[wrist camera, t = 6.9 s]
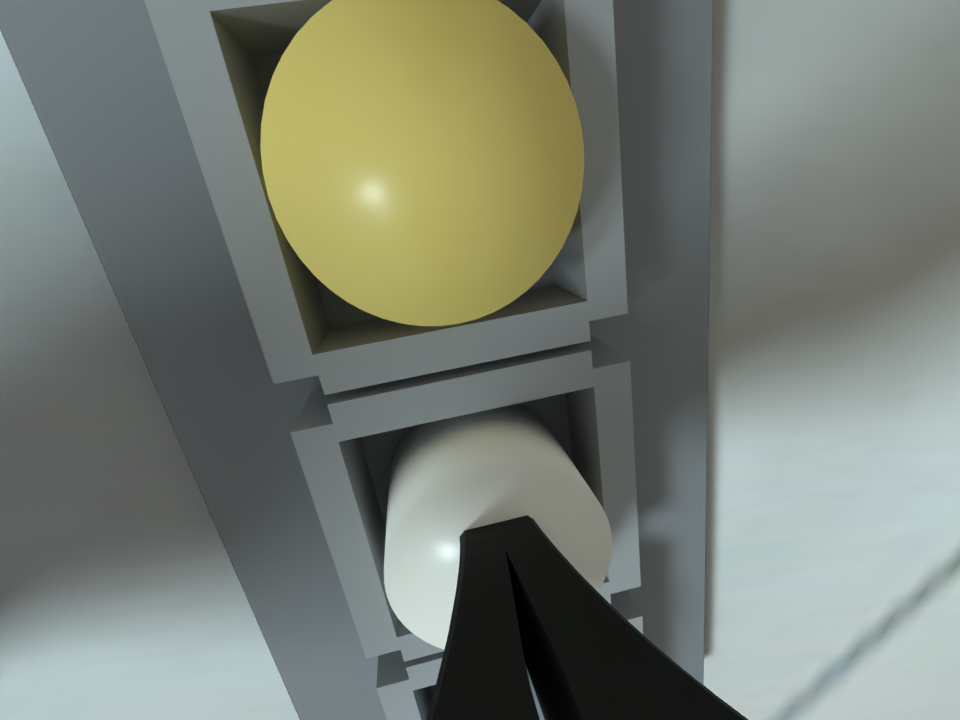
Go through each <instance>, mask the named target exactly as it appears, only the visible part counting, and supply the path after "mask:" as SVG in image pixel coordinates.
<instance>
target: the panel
mask: <svg viewBox="0 0 960 720" xmlns="http://www.w3.org/2000/svg"><path fill="white" fill-rule="evenodd" d="M330 1H332V0H0V30H1V32H2V35H3V37H4V39H5V42H6V44H7V46H8V49H9V51H10V53H11V56H12V58H13V60H14V62H15V65H16V67H17V69H18V72H19V74H20V76H21V79H22V81H23V83H24V85H25V88H26V90H27V92H28V95H29V97H30V99H31V102H32V104H33V106H34V108H35V111H36V113H37V115H38V118H39V120H40V122H41V125H42V127H43V129H44V132H45V134H46V136H47V138H48V141H49V143H50V145H51V148H52V150H53V152H54V155H55V157H56V159H57V161H58V164H59V166H60V168H61V171H62V173H63V175H64V178H65V180H66V182H67V185H68V187H69V189H70V191H71V194H72V196H73V198H74V201H75V203H76V205H77V208H78V210H79V212H80V214H81V217H82V219H83V221H84V224H85V226H86V228H87V231H88V233H89V235H90V238H91V240H92V242H93V244H94V247H95V249H96V251H97V254H98V256H99V258H100V261H101V263H102V265H103V267H104V270H105V272H106V274H107V277H108V279H109V281H110V284H111V286H112V288H113V291H114V293H115V295H116V297H117V300H118V302H119V304H120V307H121V309H122V311H123V314H124V316H125V318H126V320H127V323H128V325H129V327H130V330H131V332H132V334H133V337H134V339H135V341H136V344H137V346H138V348H139V350H140V353H141V355H142V357H143V360H144V362H145V364H146V367H147V369H148V371H149V373H150V376H151V378H152V380H153V383H154V385H155V387H156V390H157V392H158V394H159V396H160V399H161V401H162V403H163V406H164V408H165V410H166V413H167V415H168V417H169V420H170V422H171V424H172V426H173V429H174V431H175V433H176V436H177V438H178V440H179V443H180V445H181V447H182V449H183V452H184V454H185V456H186V459H187V461H188V463H189V466H190V468H191V470H192V473H193V475H194V477H195V479H196V482H197V484H198V486H199V489H200V491H201V493H202V496H203V498H204V500H205V502H206V505H207V507H208V509H209V512H210V514H211V516H212V519H213V521H214V523H215V526H216V528H217V530H218V532H219V535H220V537H221V539H222V542H223V544H224V546H225V549H226V551H227V553H228V555H229V558H230V560H231V562H232V565H233V567H234V569H235V572H236V574H237V576H238V579H239V581H240V583H241V585H242V588H243V590H244V592H245V595H246V597H247V599H248V602H249V604H250V606H251V608H252V611H253V613H254V615H255V618H256V620H257V622H258V625H259V627H260V629H261V631H262V634H263V636H264V638H265V641H266V643H267V645H268V648H269V650H270V652H271V655H272V657H273V659H274V661H275V664H276V666H277V668H278V671H279V673H280V675H281V678H282V680H283V682H284V684H285V687H286V689H287V691H288V694H289V696H290V698H291V701H292V703H293V705H294V708H295V710H296V712H297V714H298V717H299V719H300V720H426V719H427V715H428V712H429V708H430V705H431V701H432V698H433V694H434V690H435V686H436V682H437V678H438V674H439V670H440V666H441V662H442V658H443V654H444V649H441V648H438V647H436V646H433V645H431V644H429V643H427V642H425V641H423V640H422V639H420V638H419V637H417V636H416V635H414V634H413V633H412V632H411V631H410V630H408V629H407V628H406V627H405V626H404V625H403V624H402V622H401V621H400V620H399V619H398V618H397V616H396V614H395V613H394V611H393V609H392V608H391V606H390V603H389V600H388V598H387V595H386V590H385V585H384V556H385V539H386V522H387V504H388V487H389V474H390V467H391V464H392V460H393V457H394V455H395V452H396V450H397V448H398V446H399V445H400V443H401V441H402V440H403V438H404V437H405V436H406V434H407V433H408V432H409V431H410V430H411V428H412V427H414V426H415V425H420V424H424V423H429V422H434V421H438V420H443V419H447V418H452V417H457V416H461V415H466V414H471V413H475V412H480V411H485V410H489V409H494V408H499V407H503V406H508V405H513V404H519V405H521V406H523V407H525V408H527V409H528V410H530V411H532V412H533V413H534V414H536V415H537V416H538V417H539V418H540V419H542V420H543V421H544V422H545V423H546V425H547V426H548V427H549V429H550V430H551V431H552V433H553V434H554V436H555V437H556V439H557V440H558V442H559V443H560V445H561V446H562V448H563V449H564V451H565V452H566V454H567V455H568V457H569V458H570V460H571V461H572V462H573V464H574V465H575V467H576V468H577V470H578V471H579V473H580V474H581V476H582V477H583V479H584V480H585V482H586V483H587V485H588V486H589V488H590V489H591V491H592V492H593V494H594V495H595V497H596V498H597V500H598V501H599V503H600V504H601V506H602V508H603V510H604V511H605V513H606V515H607V518H608V521H609V524H610V527H611V534H612V555H611V562H610V565H609V569H608V572H607V575H606V577H605V579H604V582H603V584H602V586H601V588H600V589H599V591H598V592H599V593H600V594H601V595H602V596H603V597H604V598H605V599H606V600H607V602H609V603H610V604H611V605H612V606H613V607H614V608H615V609H616V610H617V611H618V612H619V613H620V614H621V615H622V616H623V617H624V618H625V619H626V620H628V621H629V622H630V623H631V624H632V625H633V626H634V627H635V628H636V629H638V630H639V631H640V632H641V633H642V634H643V635H644V636H645V637H646V638H647V639H649V640H650V641H651V642H652V643H653V644H654V645H655V646H657V647H658V648H659V649H660V650H661V651H662V652H664V653H665V654H666V655H667V656H668V657H669V658H671V659H672V660H673V661H674V662H675V663H677V664H678V665H679V666H680V667H681V668H683V669H684V670H685V671H686V672H687V673H689V674H690V675H691V676H692V677H694V678H695V679H696V680H697V681H699V682H700V683H701V684H702V685H703V673H704V602H705V530H706V458H707V386H708V314H709V242H710V171H711V99H712V27H713V0H497V1H499V2H501V3H502V4H504V5H505V6H507V7H508V8H510V9H511V10H512V11H513V12H514V13H516V14H517V15H518V16H519V17H520V18H521V19H523V20H524V21H525V22H526V23H527V24H528V25H529V26H530V27H531V28H532V29H533V30H534V32H535V33H536V34H537V35H538V36H539V37H540V38H541V39H542V40H543V42H544V43H545V45H546V46H547V47H548V49H549V50H550V52H551V53H552V55H553V56H554V57H555V59H556V60H557V62H558V64H559V66H560V68H561V70H562V72H563V74H564V76H565V77H566V79H567V81H568V84H569V87H570V89H571V92H572V95H573V97H574V100H575V102H576V106H577V110H578V114H579V118H580V122H581V128H582V136H583V143H584V176H583V186H582V192H581V197H580V202H579V206H578V210H577V213H576V216H575V219H574V222H573V225H572V228H571V230H570V232H569V234H568V237H567V239H566V241H565V243H564V245H563V247H562V249H561V250H560V252H559V253H558V255H557V256H556V258H555V260H554V261H553V263H552V264H551V265H550V267H549V268H548V269H547V270H546V271H545V273H544V274H543V275H542V276H541V278H540V279H539V280H538V281H537V282H536V283H534V284H533V285H532V286H531V287H530V288H529V289H528V290H527V291H526V292H525V293H523V294H522V295H521V296H519V297H518V298H517V299H515V300H514V301H513V302H511V303H510V304H508V305H506V306H504V307H503V308H501V309H499V310H497V311H495V312H493V313H491V314H488V315H486V316H483V317H481V318H478V319H475V320H471V321H468V322H464V323H460V324H453V325H445V326H416V325H408V324H401V323H398V322H394V321H390V320H386V319H382V318H380V317H377V316H375V315H372V314H370V313H367V312H365V311H363V310H361V309H359V308H357V307H356V306H354V305H352V304H350V303H348V302H346V301H345V300H344V299H342V298H341V297H339V296H338V295H337V294H335V293H334V292H332V291H331V290H330V289H329V288H328V287H326V286H325V285H324V284H323V283H322V282H321V281H320V280H319V279H318V278H317V277H315V276H314V275H313V273H312V272H311V271H310V270H309V269H308V268H307V266H306V265H305V264H304V263H303V262H302V261H301V259H300V258H299V257H298V255H297V254H296V252H295V251H294V249H293V248H292V246H291V245H290V243H289V242H288V240H287V239H286V237H285V235H284V233H283V231H282V229H281V227H280V225H279V223H278V221H277V219H276V217H275V214H274V211H273V208H272V206H271V203H270V200H269V197H268V193H267V189H266V185H265V180H264V176H263V170H262V160H261V150H260V145H261V122H262V116H263V109H264V103H265V98H266V95H267V92H268V89H269V85H270V82H271V79H272V76H273V74H274V72H275V69H276V67H277V65H278V63H279V61H280V59H281V57H282V55H283V53H284V52H285V50H286V48H287V47H288V45H289V44H290V42H291V41H292V39H293V38H294V36H295V35H296V34H297V32H298V31H299V30H300V29H301V28H302V27H303V26H304V25H305V24H306V23H307V21H308V20H309V19H310V18H311V17H312V16H313V15H314V14H316V13H317V12H318V11H319V10H321V9H322V8H323V7H324V6H326V5H327V4H328V3H329V2H330Z"/></svg>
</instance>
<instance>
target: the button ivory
mask: <svg viewBox="0 0 960 720" xmlns="http://www.w3.org/2000/svg"><path fill="white" fill-rule="evenodd" d="M526 515H528V516H530V517H531V518H533V519H534V520H535V522H536V523H537V524H538V526H539V527H540V528H541V530H542V531H543V532H544V533H545V535H546V536H547V537H548V538H549V540H550V541H551V542H552V543H553V544H554V545H555V547H556V548H557V549H558V550H559V551H560V552H561V553H562V555H563V556H564V557H565V558H566V559H567V560H568V561H569V562H570V564H571V565H572V566H573V567H574V568H575V569H576V570H577V571H578V572H579V573H580V574H581V575H582V576H583V577H584V578H585V579H586V580H587V581H588V582H589V583H590V584H591V585H592V586H593V587H594V588H595V589H596V590H597V591H599V589H600V588H601V586H602V584H603V582H604V579H605V577H606V575H607V572H608V569H609V565H610V562H611V555H612V534H611V527H610V524H609V521H608V518H607V515H606V513H605V511H604V510H603V508H602V506H601V504H600V503H599V501H598V500H597V498H596V497H595V495H594V494H593V492H592V491H591V489H590V488H589V486H588V485H587V483H586V482H585V480H584V479H583V477H582V476H581V474H580V473H579V471H578V470H577V468H576V467H575V465H574V464H573V462H572V461H571V460H570V458H569V457H568V455H567V454H566V452H565V451H564V449H563V448H562V446H561V445H560V443H559V442H558V440H557V439H556V437H555V436H554V434H553V433H552V431H551V430H550V429H549V427H548V426H547V425H546V423H545V422H544V421H543V420H542V419H540V418H539V417H538V416H537V415H536V414H534V413H533V412H532V411H530V410H528V409H527V408H525V407H523V406H521V405H519V404H513V405H508V406H503V407H499V408H494V409H489V410H485V411H480V412H475V413H471V414H466V415H461V416H457V417H452V418H447V419H443V420H438V421H434V422H429V423H424V424H420V425H415V426H414V427H412V428H411V430H410V431H409V432H408V433H407V434H406V436H405V437H404V438H403V440H402V441H401V443H400V445H399V446H398V448H397V450H396V452H395V455H394V457H393V460H392V464H391V467H390V474H389V487H388V504H387V522H386V539H385V556H384V585H385V590H386V595H387V598H388V600H389V603H390V606H391V608H392V609H393V611H394V613H395V614H396V616H397V618H398V619H399V620H400V621H401V622H402V624H403V625H404V626H405V627H406V628H407V629H408V630H410V631H411V632H412V633H413V634H414V635H416V636H417V637H419V638H420V639H422V640H423V641H425V642H427V643H429V644H431V645H433V646H436V647H438V648H441V649H444V650H445V645H446V641H447V636H448V632H449V626H450V621H451V615H452V610H453V605H454V599H455V594H456V587H457V579H458V571H459V559H460V538H459V537H460V536H461V534H462V533H463V532H464V530H468V529H473V528H477V527H481V526H485V525H489V524H493V523H497V522H502V521H506V520H510V519H514V518H518V517H522V516H526Z"/></svg>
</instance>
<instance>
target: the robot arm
mask: <svg viewBox="0 0 960 720" xmlns="http://www.w3.org/2000/svg"><path fill="white" fill-rule="evenodd" d="M459 538H460V559H459V571H458V579H457V587H456V594H455V599H454V605H453V610H452V615H451V621H450V626H449V632H448V636H447V641H446V645H445V650H444V654H443V658H442V662H441V666H440V670H439V674H438V678H437V682H436V686H435V690H434V694H433V698H432V701H431V705H430V708H429V712H428V715H427V719H426V720H540V719H539V715H538V711H537V708H536V704H535V701H534V697H533V694H532V690H531V686H530V682H529V678H528V673H529V676H530V679H531V682H532V685H533V687H534V690H535V693H536V696H537V699H538V702H539V705H540V708H541V711H542V713H543V716H544V719H545V720H748V719H747V718H745V717H744V716H743V715H741V714H740V713H739V712H737V711H736V710H735V709H733V708H732V707H731V706H729V705H728V704H727V703H725V702H724V701H723V700H721V699H720V698H719V697H718V696H716V695H715V694H714V693H712V692H711V691H710V690H709V689H707V688H706V687H705V686H704V685H702V684H701V683H700V682H699V681H697V680H696V679H695V678H694V677H692V676H691V675H690V674H689V673H687V672H686V671H685V670H684V669H683V668H681V667H680V666H679V665H678V664H677V663H675V662H674V661H673V660H672V659H671V658H669V657H668V656H667V655H666V654H665V653H664V652H662V651H661V650H660V649H659V648H658V647H657V646H655V645H654V644H653V643H652V642H651V641H650V640H649V639H647V638H646V637H645V636H644V635H643V634H642V633H641V632H640V631H639V630H638V629H636V628H635V627H634V626H633V625H632V624H631V623H630V622H629V621H628V620H626V619H625V618H624V617H623V616H622V615H621V614H620V613H619V612H618V611H617V610H616V609H615V608H614V607H613V606H612V605H611V604H610V603H609V602H607V600H606V599H605V598H604V597H603V596H602V595H601V594H600V593H599V592H598V591H597V590H596V589H595V588H594V587H593V586H592V585H591V584H590V583H589V582H588V581H587V580H586V579H585V578H584V577H583V576H582V575H581V574H580V573H579V572H578V571H577V570H576V569H575V568H574V567H573V566H572V565H571V564H570V562H569V561H568V560H567V559H566V558H565V557H564V556H563V555H562V553H561V552H560V551H559V550H558V549H557V548H556V547H555V545H554V544H553V543H552V542H551V541H550V540H549V538H548V537H547V536H546V535H545V533H544V532H543V531H542V530H541V528H540V527H539V526H538V524H537V523H536V522H535V520H534V519H533V518H531V517H530V516H528V515H526V516H522V517H518V518H514V519H510V520H506V521H502V522H497V523H493V524H489V525H485V526H481V527H477V528H473V529H468V530H464V532H463V533H462V534H461V536H460V537H459ZM526 667H527V669H526ZM527 670H528V673H527Z"/></svg>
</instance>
